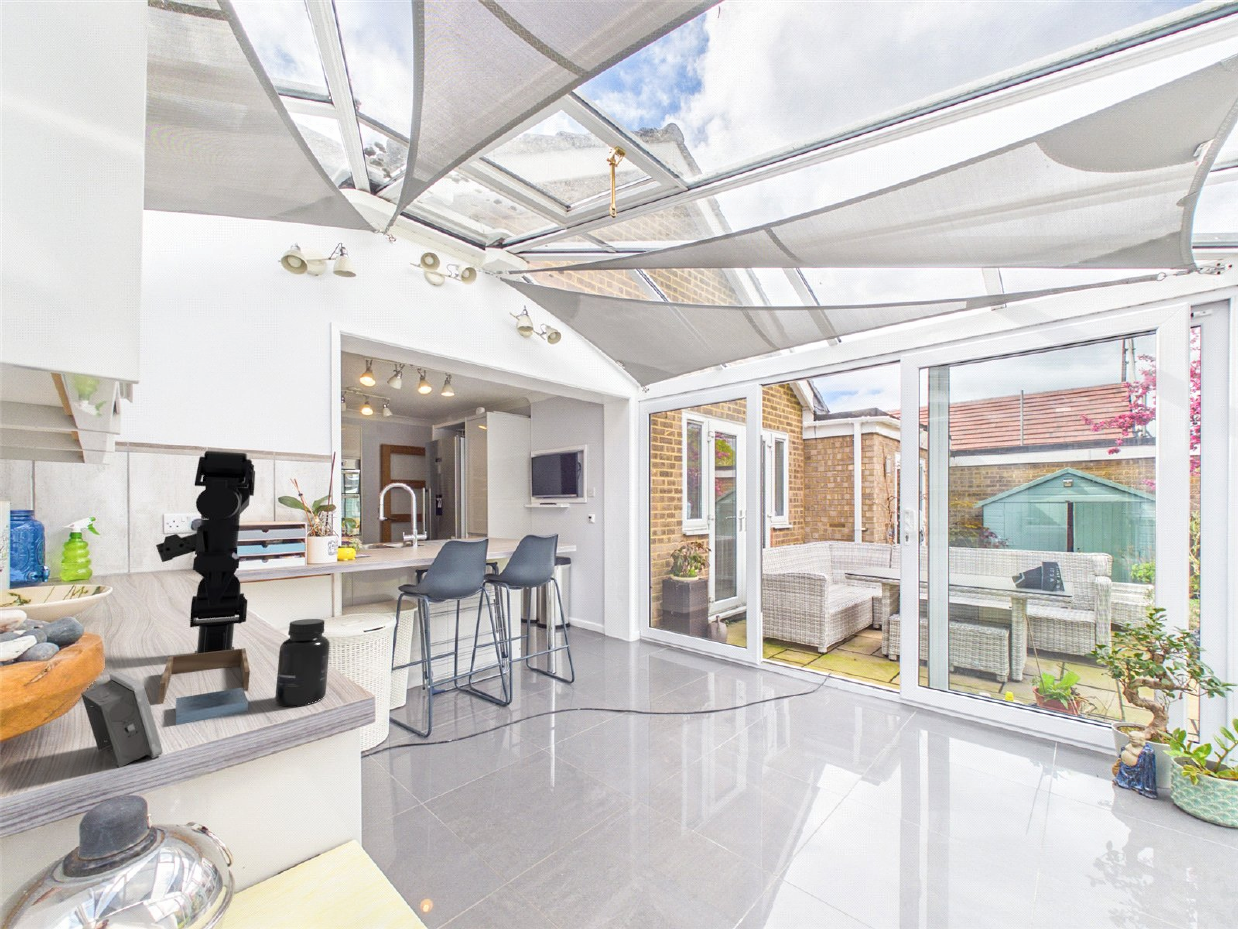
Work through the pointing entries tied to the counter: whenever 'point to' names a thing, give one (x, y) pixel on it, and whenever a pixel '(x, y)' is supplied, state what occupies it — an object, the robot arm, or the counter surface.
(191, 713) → the cover plate
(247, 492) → the robot arm
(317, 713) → the counter surface
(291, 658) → the supplement bottle
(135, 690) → the electrical switch
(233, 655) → the open box
